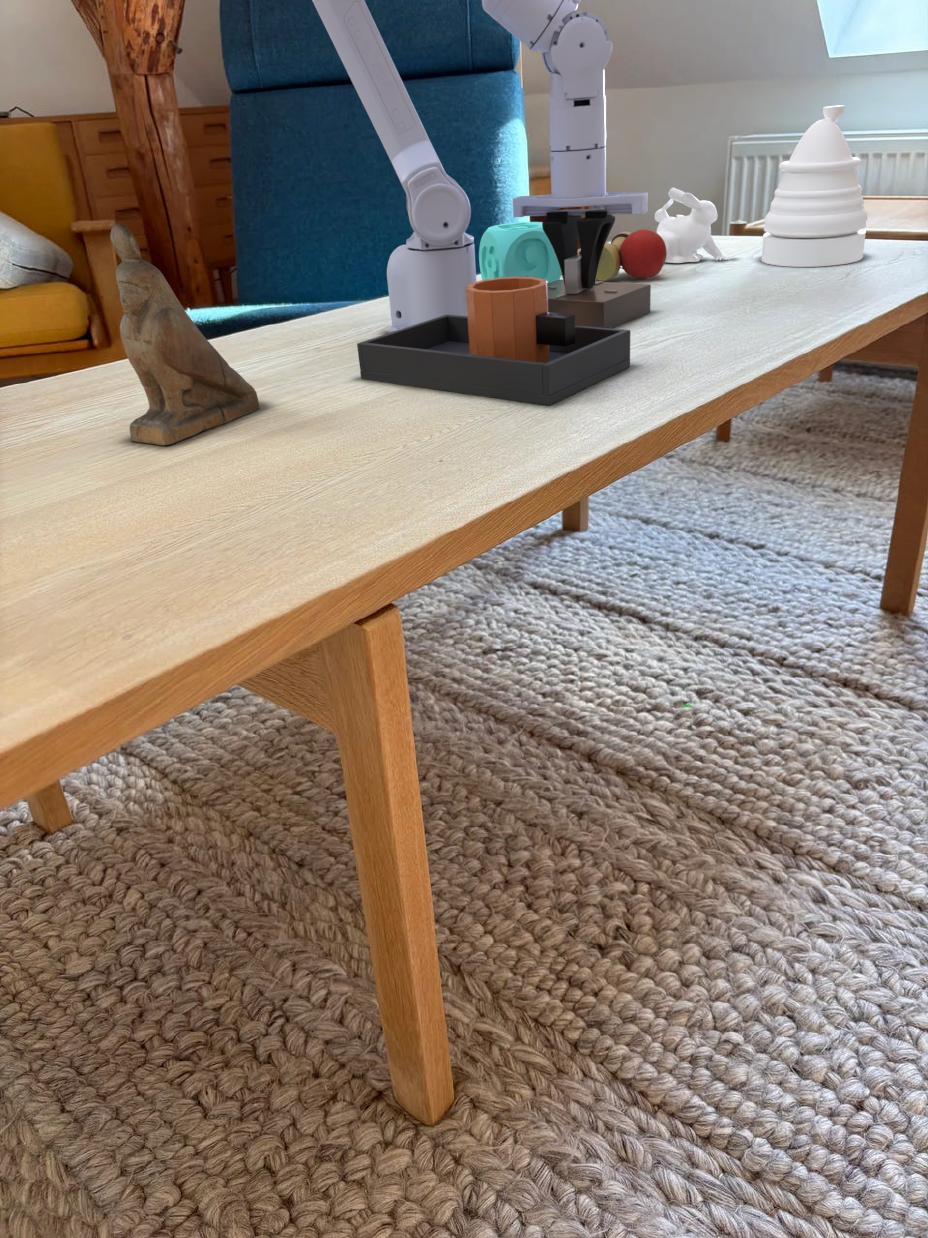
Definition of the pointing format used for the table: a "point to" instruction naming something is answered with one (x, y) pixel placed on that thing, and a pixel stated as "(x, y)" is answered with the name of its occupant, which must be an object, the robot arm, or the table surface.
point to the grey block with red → (573, 275)
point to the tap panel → (601, 303)
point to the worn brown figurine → (171, 356)
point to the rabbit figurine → (688, 229)
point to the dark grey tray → (491, 362)
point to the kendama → (632, 255)
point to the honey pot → (817, 202)
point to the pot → (515, 319)
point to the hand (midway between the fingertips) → (580, 286)
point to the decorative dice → (518, 252)
